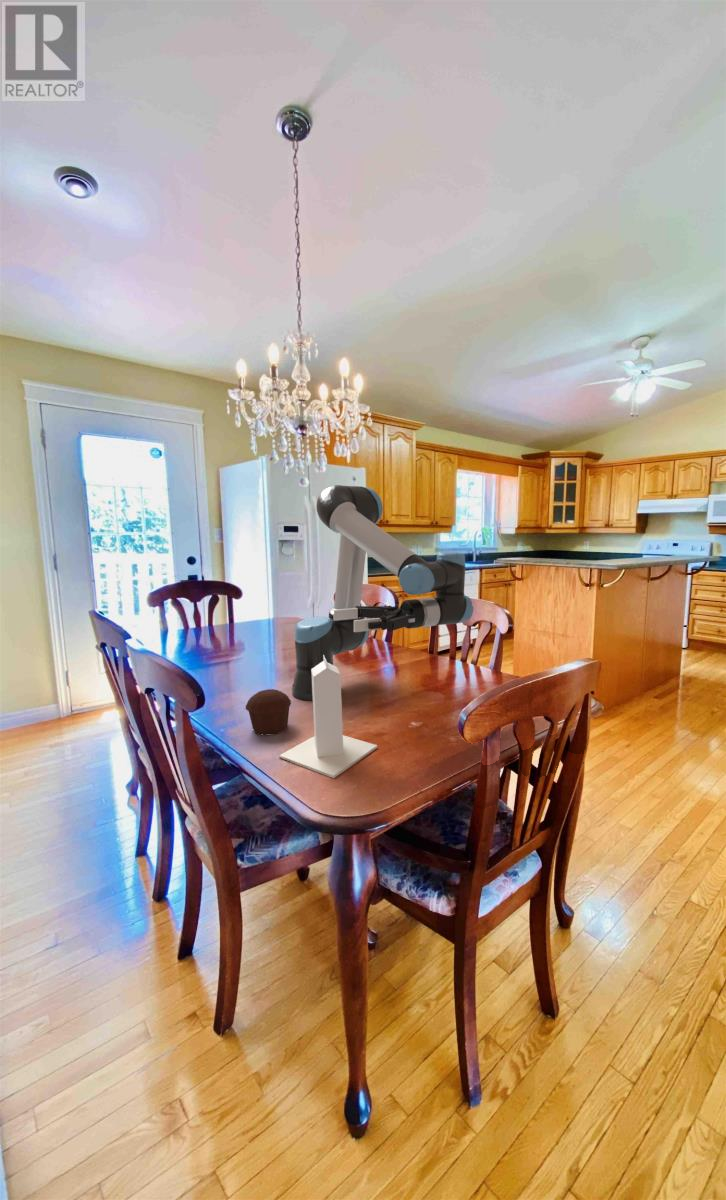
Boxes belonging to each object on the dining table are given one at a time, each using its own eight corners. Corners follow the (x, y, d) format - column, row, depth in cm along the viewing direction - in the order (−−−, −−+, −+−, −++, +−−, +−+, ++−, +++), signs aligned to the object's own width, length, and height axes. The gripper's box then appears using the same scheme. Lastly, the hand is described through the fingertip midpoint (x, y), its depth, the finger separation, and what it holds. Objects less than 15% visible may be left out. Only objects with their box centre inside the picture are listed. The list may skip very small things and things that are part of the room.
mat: (325, 732, 117) (325, 729, 117) (377, 747, 108) (377, 745, 108) (279, 757, 104) (279, 755, 104) (333, 778, 95) (333, 775, 95)
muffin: (286, 716, 128) (284, 681, 126) (298, 731, 118) (296, 694, 117) (243, 725, 123) (240, 689, 122) (251, 741, 113) (248, 702, 112)
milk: (339, 743, 109) (336, 653, 106) (343, 755, 104) (340, 660, 100) (314, 746, 108) (310, 655, 105) (316, 758, 102) (312, 662, 99)
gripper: (444, 638, 110) (364, 648, 102) (396, 618, 133) (326, 624, 124) (445, 607, 109) (364, 615, 101) (396, 592, 132) (326, 597, 123)
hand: (343, 620), depth 113 cm, fingers open, 13 cm apart
